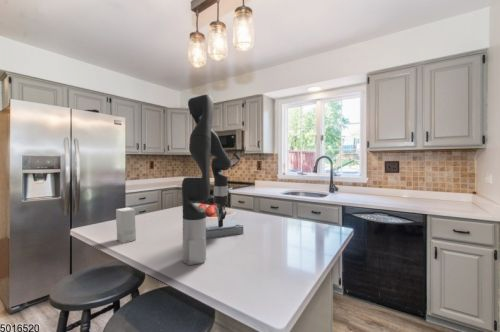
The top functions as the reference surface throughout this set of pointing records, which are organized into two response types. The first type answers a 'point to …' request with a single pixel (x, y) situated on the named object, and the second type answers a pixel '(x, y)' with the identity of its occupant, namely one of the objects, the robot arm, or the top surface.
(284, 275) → the top surface
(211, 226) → the cover
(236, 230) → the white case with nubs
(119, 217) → the skincare box
